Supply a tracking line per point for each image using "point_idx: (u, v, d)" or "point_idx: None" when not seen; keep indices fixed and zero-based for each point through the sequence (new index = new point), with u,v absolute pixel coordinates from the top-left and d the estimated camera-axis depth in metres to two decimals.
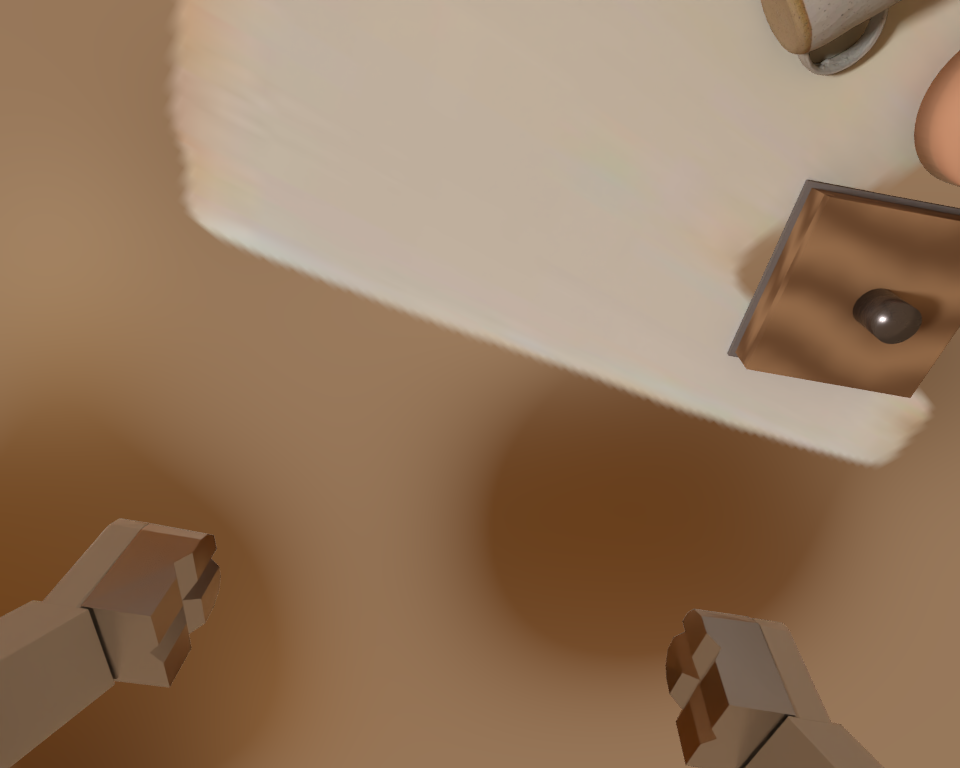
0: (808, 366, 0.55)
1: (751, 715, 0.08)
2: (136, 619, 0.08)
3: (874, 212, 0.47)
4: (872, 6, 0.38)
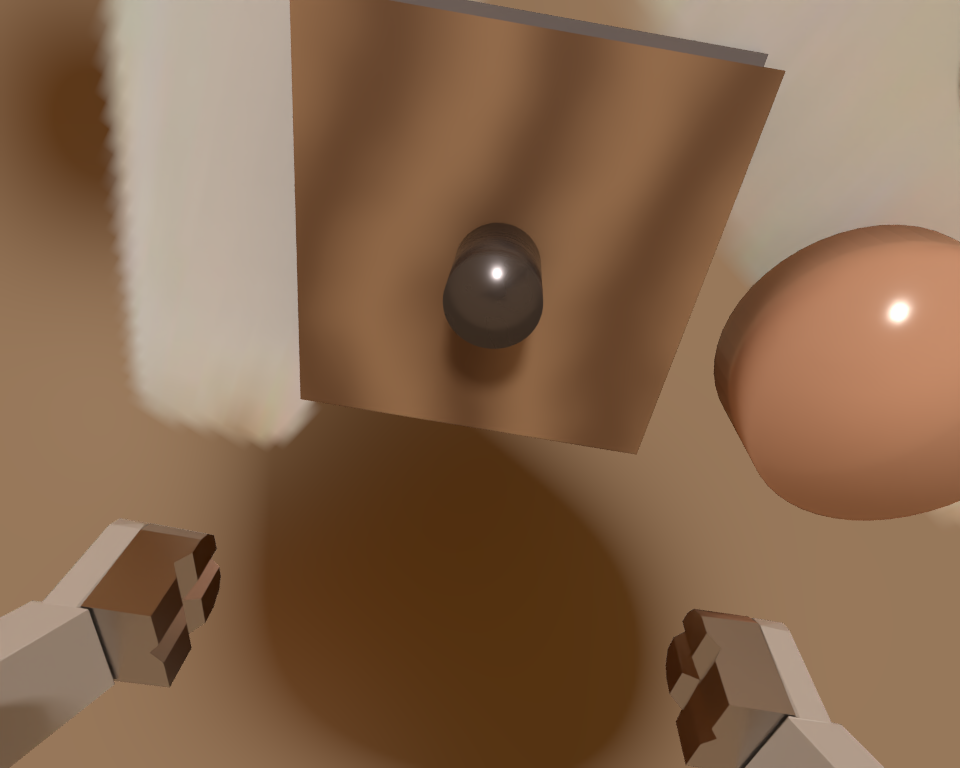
0: (331, 167, 0.22)
1: (751, 715, 0.08)
2: (135, 619, 0.08)
3: (722, 193, 0.21)
4: None
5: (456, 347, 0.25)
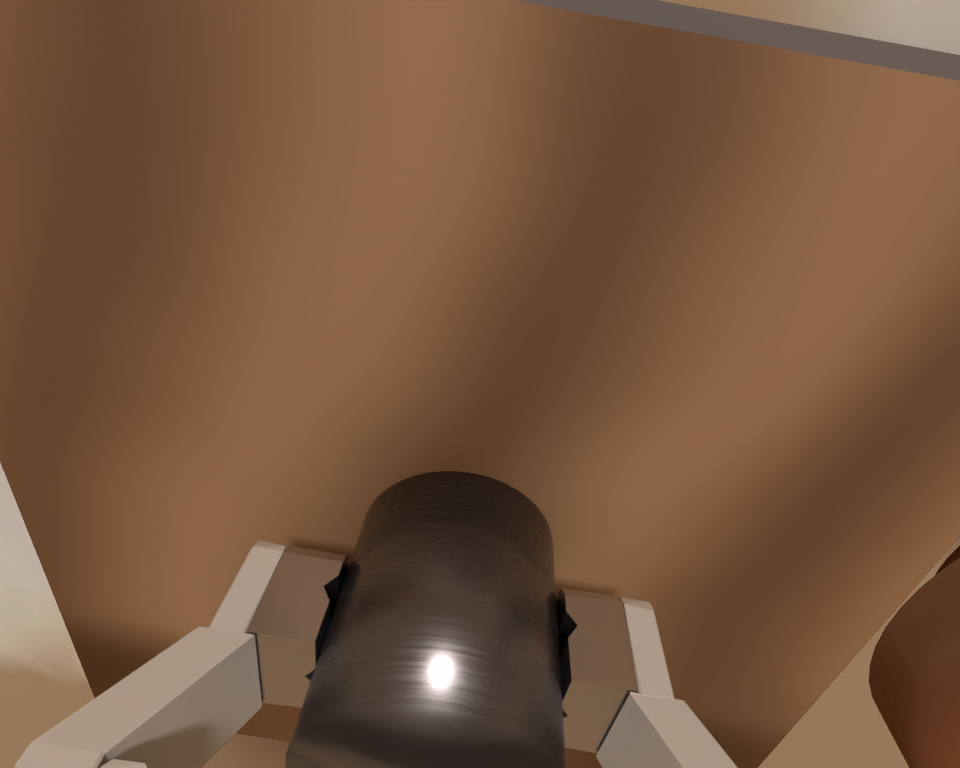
0: (45, 357, 0.09)
1: (596, 692, 0.08)
2: (298, 644, 0.08)
3: None
4: None
5: None
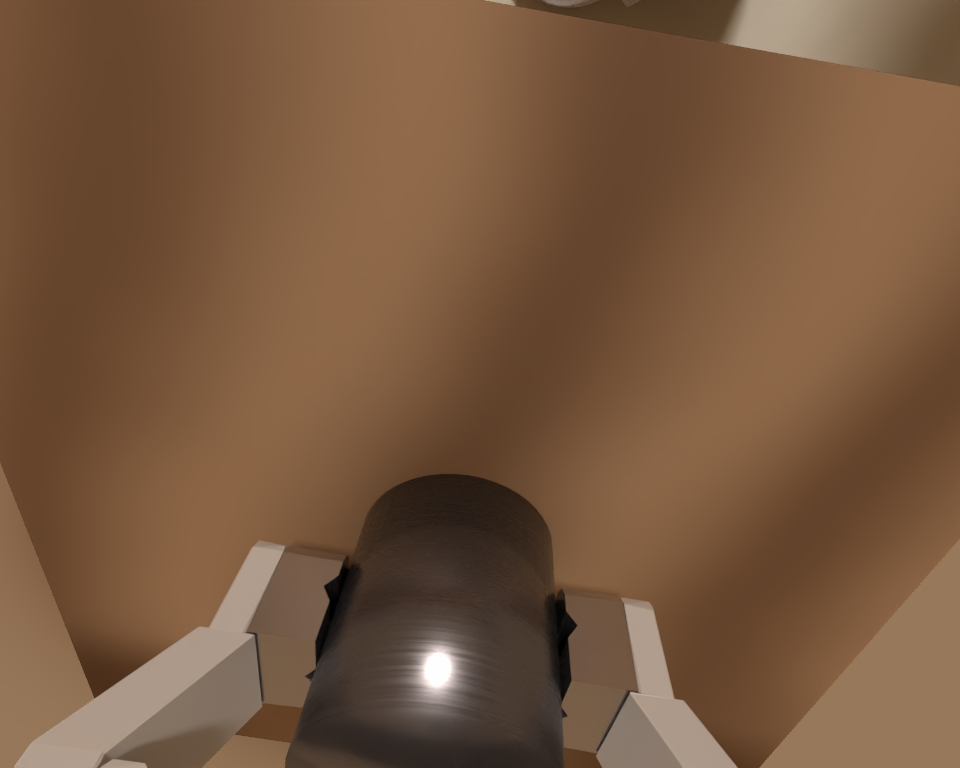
0: (46, 360, 0.09)
1: (596, 691, 0.08)
2: (298, 644, 0.08)
3: None
4: None
5: None
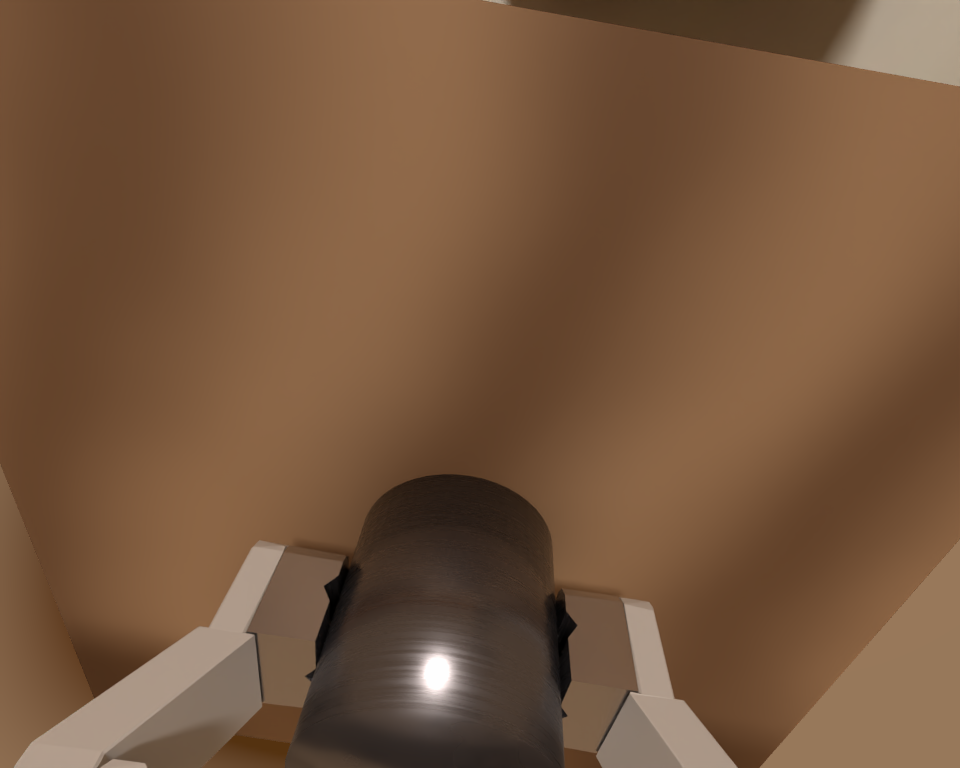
0: (46, 360, 0.09)
1: (596, 691, 0.08)
2: (299, 645, 0.08)
3: None
4: None
5: None
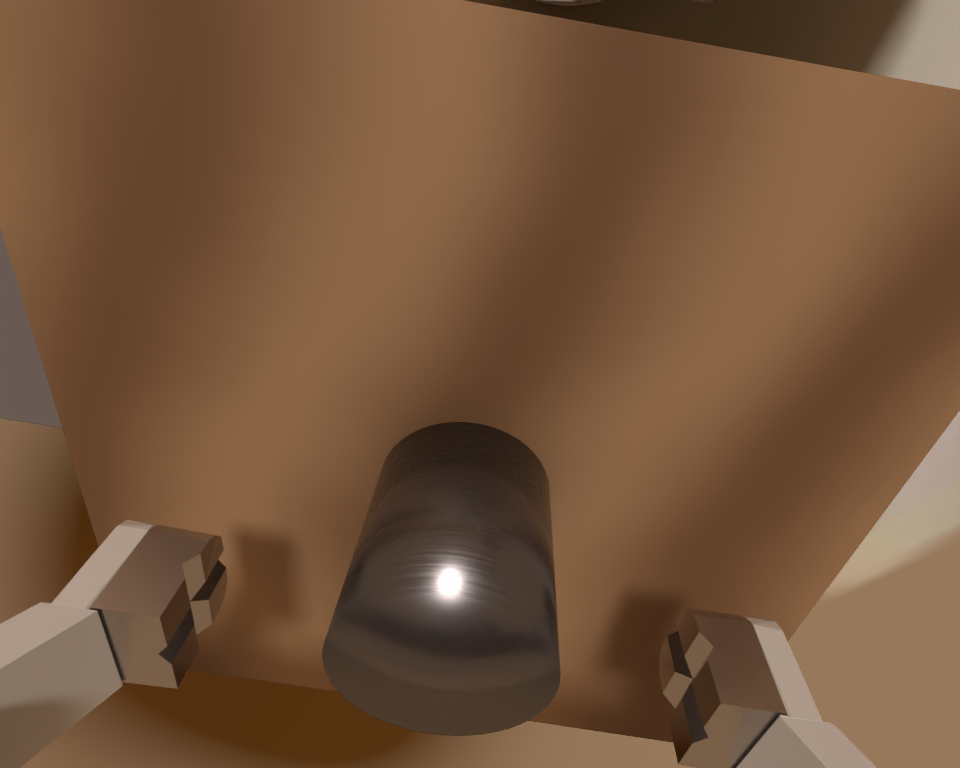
0: (105, 318, 0.10)
1: (743, 714, 0.08)
2: (144, 621, 0.08)
3: (946, 381, 0.10)
4: None
5: None
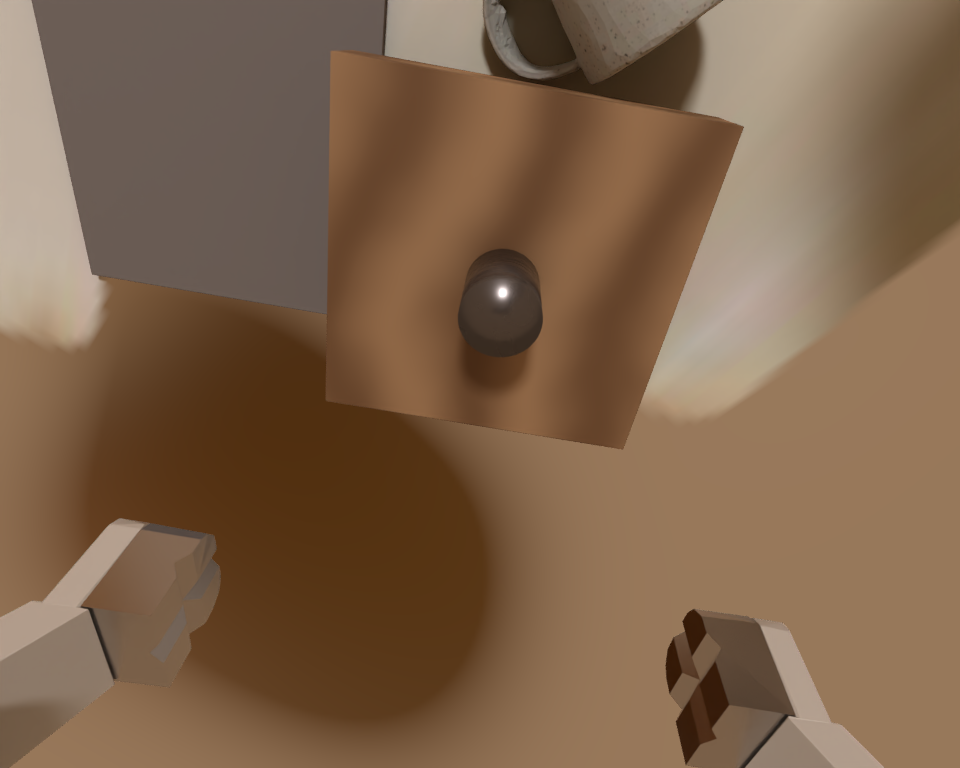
0: (361, 201, 0.25)
1: (751, 715, 0.08)
2: (136, 619, 0.08)
3: (693, 225, 0.25)
4: None
5: (465, 355, 0.29)
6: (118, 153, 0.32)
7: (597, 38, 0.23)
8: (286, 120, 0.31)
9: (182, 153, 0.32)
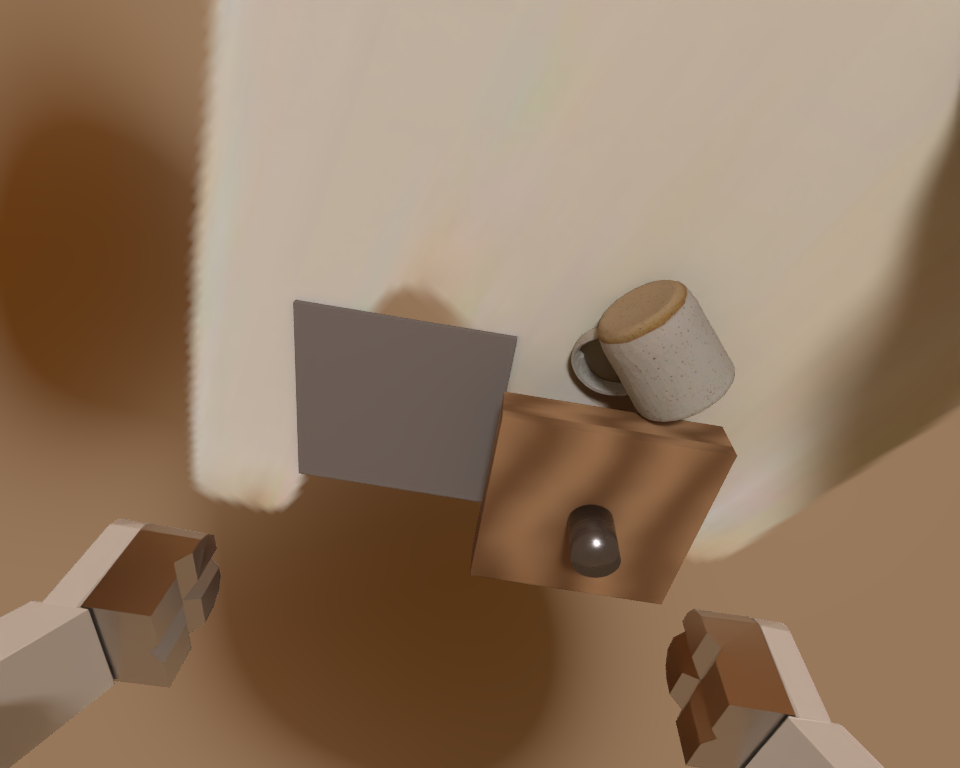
0: (509, 481, 0.42)
1: (751, 715, 0.08)
2: (136, 619, 0.08)
3: (708, 497, 0.42)
4: (638, 388, 0.39)
5: (563, 554, 0.46)
6: (331, 411, 0.49)
7: (644, 406, 0.40)
8: (445, 397, 0.48)
9: (374, 412, 0.49)
